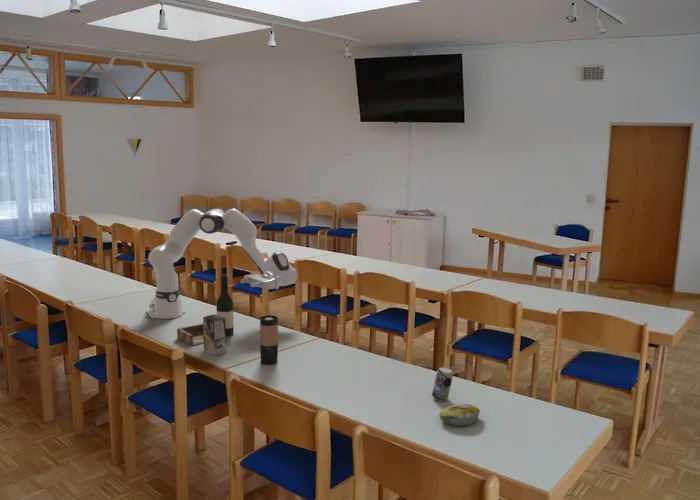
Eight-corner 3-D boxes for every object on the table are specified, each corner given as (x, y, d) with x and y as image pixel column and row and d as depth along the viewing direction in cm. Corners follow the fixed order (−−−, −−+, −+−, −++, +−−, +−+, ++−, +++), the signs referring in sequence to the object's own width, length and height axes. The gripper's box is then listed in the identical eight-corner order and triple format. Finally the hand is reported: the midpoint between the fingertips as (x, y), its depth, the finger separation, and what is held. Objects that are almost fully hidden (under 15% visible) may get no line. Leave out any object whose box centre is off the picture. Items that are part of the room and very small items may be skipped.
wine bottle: (235, 332, 306) (235, 273, 301) (231, 337, 298) (230, 277, 293) (219, 331, 307) (218, 272, 302) (214, 336, 299) (213, 276, 293)
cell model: (431, 412, 216) (464, 390, 221) (440, 431, 217) (472, 409, 222) (447, 418, 206) (482, 396, 211) (456, 439, 207) (490, 416, 212)
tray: (177, 338, 295) (177, 328, 294) (204, 332, 304) (204, 323, 303) (191, 346, 284) (190, 336, 283) (219, 340, 293) (218, 330, 293)
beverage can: (430, 395, 235) (431, 366, 233) (449, 395, 236) (450, 365, 234) (433, 402, 229) (435, 372, 227) (453, 402, 230) (454, 372, 227)
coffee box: (226, 352, 277) (226, 318, 274) (214, 356, 273) (214, 321, 270) (214, 347, 283) (214, 314, 281) (203, 350, 279) (202, 316, 276)
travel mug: (280, 360, 269) (280, 316, 265) (273, 366, 262) (273, 321, 258) (265, 358, 271) (265, 314, 268) (257, 364, 264) (256, 319, 260)
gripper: (258, 270, 322) (235, 273, 313) (280, 277, 307) (256, 280, 298) (258, 281, 323) (235, 285, 314) (280, 289, 308) (256, 293, 299)
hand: (245, 283), depth 306 cm, fingers open, 8 cm apart
